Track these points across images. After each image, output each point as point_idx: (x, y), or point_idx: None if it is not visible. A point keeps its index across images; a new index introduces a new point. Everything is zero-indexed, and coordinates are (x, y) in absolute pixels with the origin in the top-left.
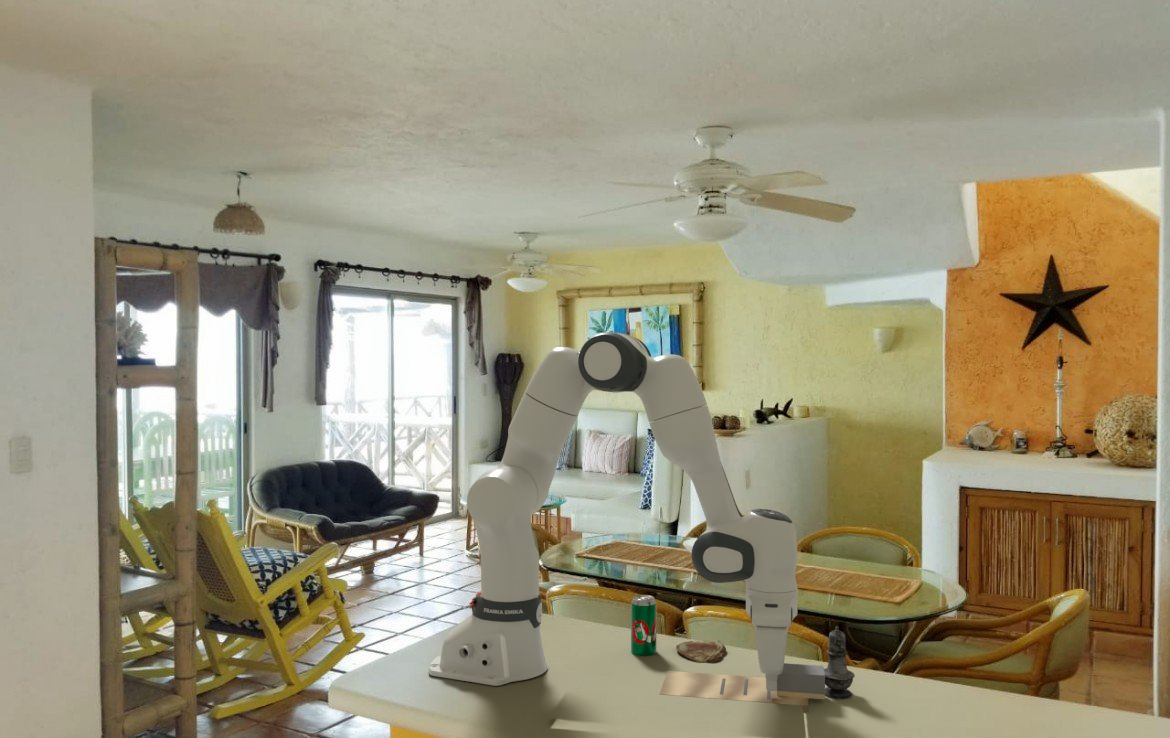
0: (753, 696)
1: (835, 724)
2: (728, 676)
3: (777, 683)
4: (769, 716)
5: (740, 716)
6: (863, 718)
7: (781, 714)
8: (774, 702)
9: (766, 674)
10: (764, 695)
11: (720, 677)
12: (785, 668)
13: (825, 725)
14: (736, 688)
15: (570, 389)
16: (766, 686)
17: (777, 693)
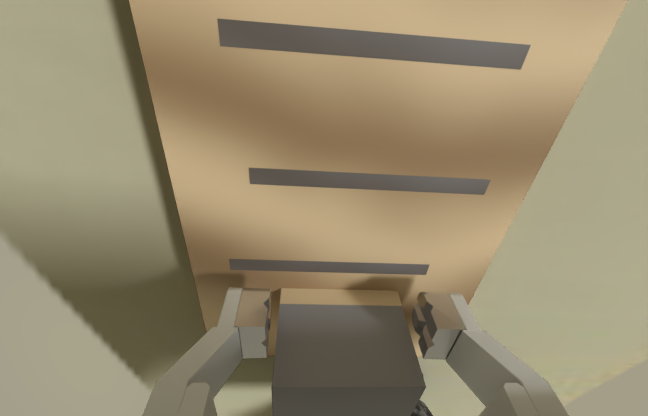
0: (244, 211)
1: (159, 372)
2: (556, 89)
3: (277, 334)
4: (131, 242)
5: (60, 133)
6: (226, 406)
7: (172, 275)
8: (200, 279)
9: (172, 370)
10: (269, 251)
11: (553, 29)
12: (337, 408)
13: (139, 357)
14: (346, 133)
15: None
16: (224, 300)
17: (281, 296)
